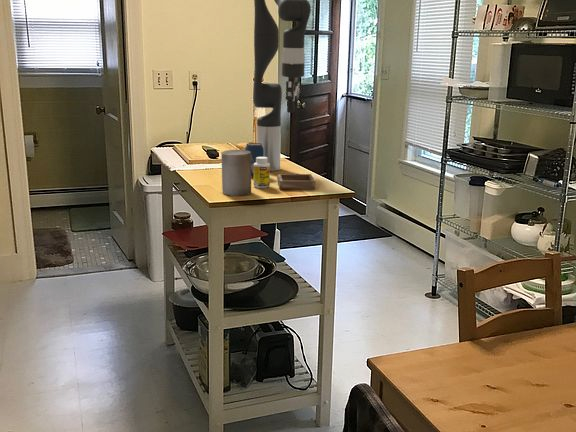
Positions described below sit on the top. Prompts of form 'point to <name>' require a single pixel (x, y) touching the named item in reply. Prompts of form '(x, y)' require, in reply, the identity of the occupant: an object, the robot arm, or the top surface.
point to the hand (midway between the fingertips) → (292, 110)
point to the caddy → (296, 182)
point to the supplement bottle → (261, 173)
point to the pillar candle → (236, 172)
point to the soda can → (254, 153)
